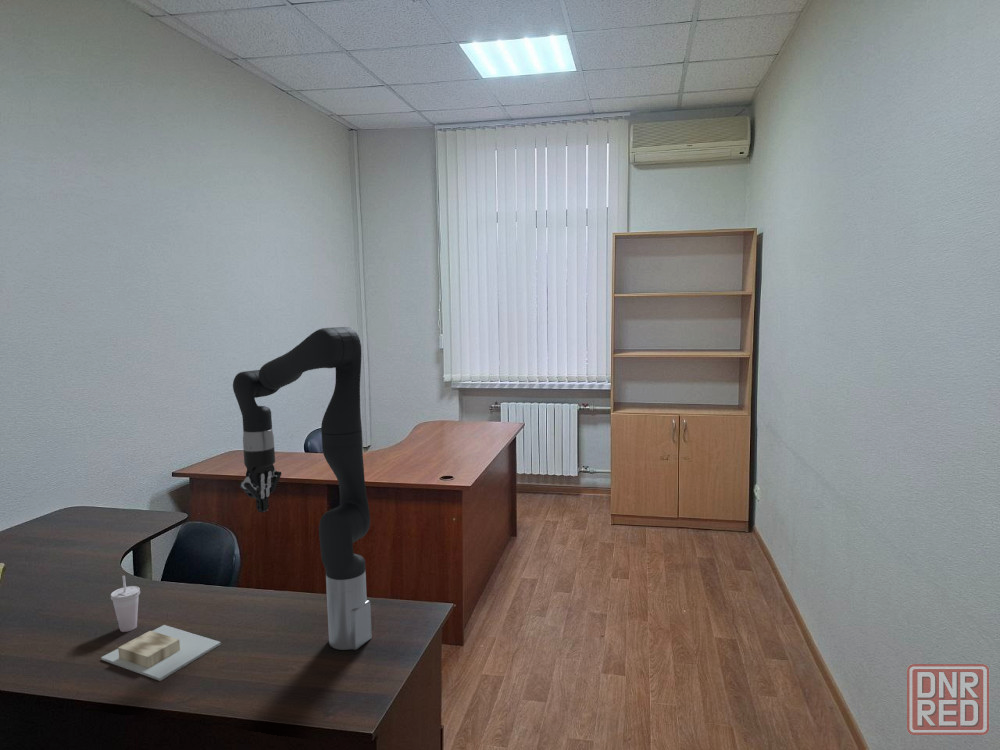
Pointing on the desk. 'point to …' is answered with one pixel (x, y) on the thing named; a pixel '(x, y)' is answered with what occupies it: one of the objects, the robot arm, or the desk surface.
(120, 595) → the smoothie
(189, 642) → the mat
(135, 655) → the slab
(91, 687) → the desk surface
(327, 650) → the desk surface
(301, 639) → the desk surface
